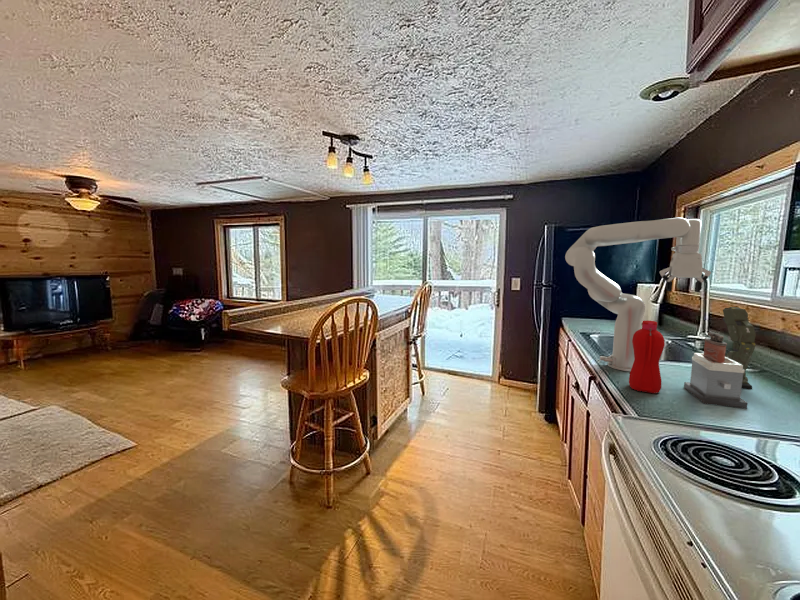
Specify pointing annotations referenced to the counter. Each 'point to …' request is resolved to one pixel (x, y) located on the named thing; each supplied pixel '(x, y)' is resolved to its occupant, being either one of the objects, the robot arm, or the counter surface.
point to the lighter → (715, 348)
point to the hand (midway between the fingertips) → (682, 291)
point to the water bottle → (647, 358)
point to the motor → (716, 382)
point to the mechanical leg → (740, 338)
